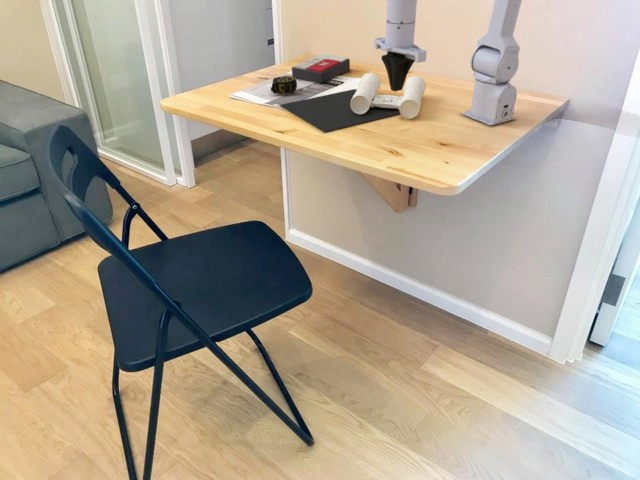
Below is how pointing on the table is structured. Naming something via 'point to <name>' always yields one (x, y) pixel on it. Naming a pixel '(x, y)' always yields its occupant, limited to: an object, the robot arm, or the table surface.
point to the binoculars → (388, 96)
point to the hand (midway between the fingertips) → (396, 89)
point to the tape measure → (284, 84)
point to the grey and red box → (321, 68)
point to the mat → (335, 111)
